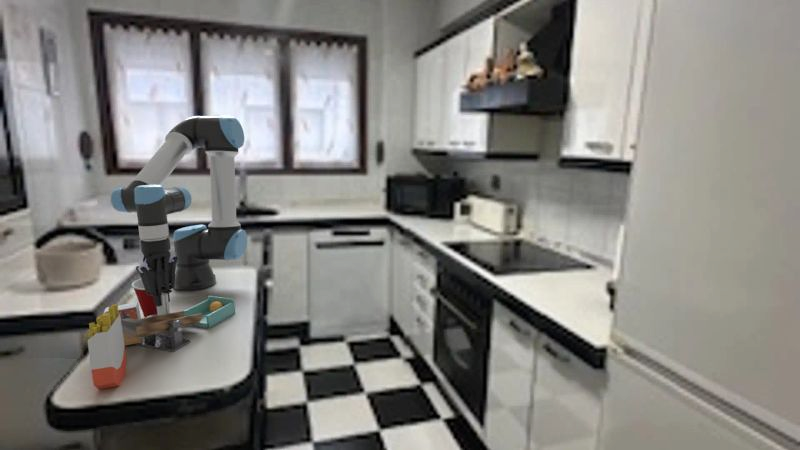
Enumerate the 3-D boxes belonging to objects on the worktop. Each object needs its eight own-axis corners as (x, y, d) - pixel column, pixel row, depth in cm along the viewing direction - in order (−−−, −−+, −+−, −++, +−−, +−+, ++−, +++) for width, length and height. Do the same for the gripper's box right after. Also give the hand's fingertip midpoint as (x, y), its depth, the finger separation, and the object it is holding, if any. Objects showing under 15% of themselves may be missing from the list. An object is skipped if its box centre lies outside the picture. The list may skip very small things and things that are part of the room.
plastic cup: (157, 324, 135) (153, 288, 132) (128, 322, 137) (122, 285, 135) (181, 311, 145) (177, 276, 143) (153, 308, 147) (149, 275, 145)
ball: (205, 311, 140) (213, 314, 143) (215, 312, 139) (223, 316, 142) (209, 299, 142) (217, 302, 145) (219, 300, 140) (227, 304, 144)
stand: (154, 335, 127) (151, 312, 126) (190, 342, 123) (187, 318, 122) (136, 345, 122) (133, 321, 120) (173, 351, 118) (170, 327, 116)
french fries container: (93, 396, 98) (81, 321, 94) (107, 372, 108) (96, 303, 104) (116, 392, 99) (105, 318, 96) (128, 368, 109) (118, 301, 106)
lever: (163, 317, 135) (164, 304, 136) (201, 323, 131) (202, 310, 131) (94, 331, 115) (95, 316, 115) (136, 339, 110) (138, 323, 110)
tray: (210, 309, 146) (209, 295, 145) (235, 313, 143) (234, 298, 142) (182, 324, 135) (181, 308, 134) (209, 328, 132) (207, 312, 131)
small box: (109, 349, 119) (101, 313, 117) (112, 342, 124) (105, 307, 122) (143, 342, 122) (136, 306, 120) (144, 335, 127) (138, 300, 125)
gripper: (163, 232, 134) (171, 305, 139) (124, 242, 122) (134, 321, 126) (183, 234, 132) (190, 307, 137) (144, 244, 119) (154, 325, 124)
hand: (163, 314), depth 131 cm, fingers closed
